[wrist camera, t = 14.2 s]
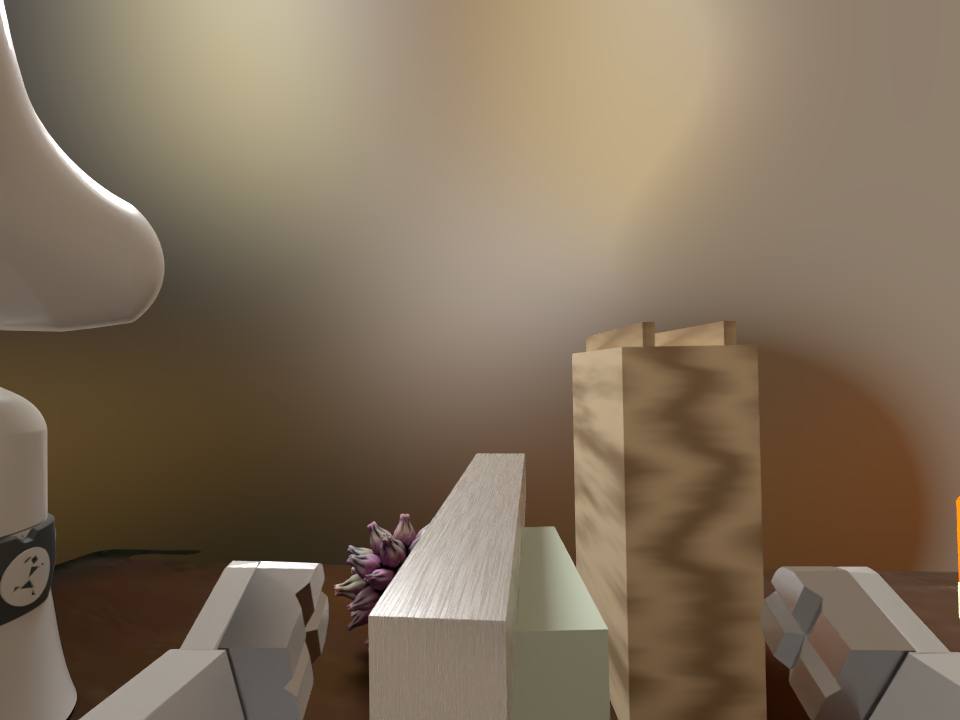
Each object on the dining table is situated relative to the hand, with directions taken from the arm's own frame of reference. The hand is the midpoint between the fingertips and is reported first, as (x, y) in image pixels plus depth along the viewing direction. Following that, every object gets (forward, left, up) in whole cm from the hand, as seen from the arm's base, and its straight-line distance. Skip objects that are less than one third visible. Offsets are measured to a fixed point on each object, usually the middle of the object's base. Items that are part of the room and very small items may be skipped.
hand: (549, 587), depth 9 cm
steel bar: (+1, +15, -4) cm, 16 cm away
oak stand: (+13, +31, -21) cm, 40 cm away
